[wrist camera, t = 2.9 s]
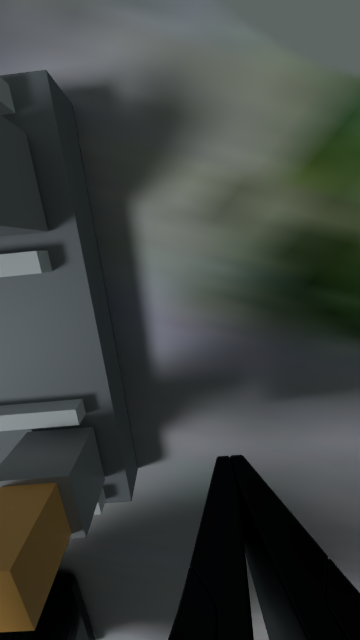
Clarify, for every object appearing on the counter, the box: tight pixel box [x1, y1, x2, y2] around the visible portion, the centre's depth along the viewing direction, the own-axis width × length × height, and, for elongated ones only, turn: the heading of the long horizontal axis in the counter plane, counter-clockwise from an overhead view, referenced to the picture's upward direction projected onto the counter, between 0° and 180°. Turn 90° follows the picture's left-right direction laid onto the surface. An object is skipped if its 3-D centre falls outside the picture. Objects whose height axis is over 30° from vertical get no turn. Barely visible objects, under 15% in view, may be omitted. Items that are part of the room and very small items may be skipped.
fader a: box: [0, 427, 105, 632], centre depth 7 cm, size 2×2×4 cm
